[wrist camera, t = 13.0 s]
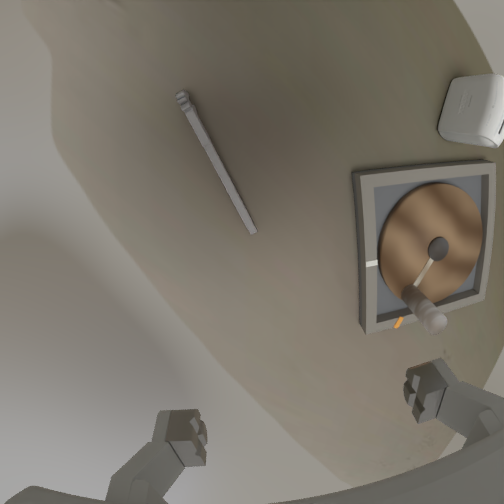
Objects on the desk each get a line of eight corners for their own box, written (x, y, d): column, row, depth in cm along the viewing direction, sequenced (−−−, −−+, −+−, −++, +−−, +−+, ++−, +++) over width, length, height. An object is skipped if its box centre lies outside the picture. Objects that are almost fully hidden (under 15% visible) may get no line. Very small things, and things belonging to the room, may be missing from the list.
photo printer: (450, 74, 35) (504, 67, 24) (469, 88, 36) (524, 87, 25) (432, 132, 39) (487, 139, 27) (452, 145, 40) (507, 156, 28)
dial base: (351, 172, 41) (360, 176, 38) (483, 159, 40) (496, 162, 37) (359, 324, 50) (366, 336, 47) (474, 292, 49) (484, 301, 46)
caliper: (180, 96, 37) (170, 90, 31) (188, 92, 37) (179, 85, 31) (250, 233, 44) (252, 250, 38) (258, 230, 44) (261, 247, 38)
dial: (418, 157, 39) (464, 169, 29) (492, 219, 43) (534, 241, 33) (353, 274, 45) (381, 313, 35) (436, 314, 48) (467, 350, 39)
